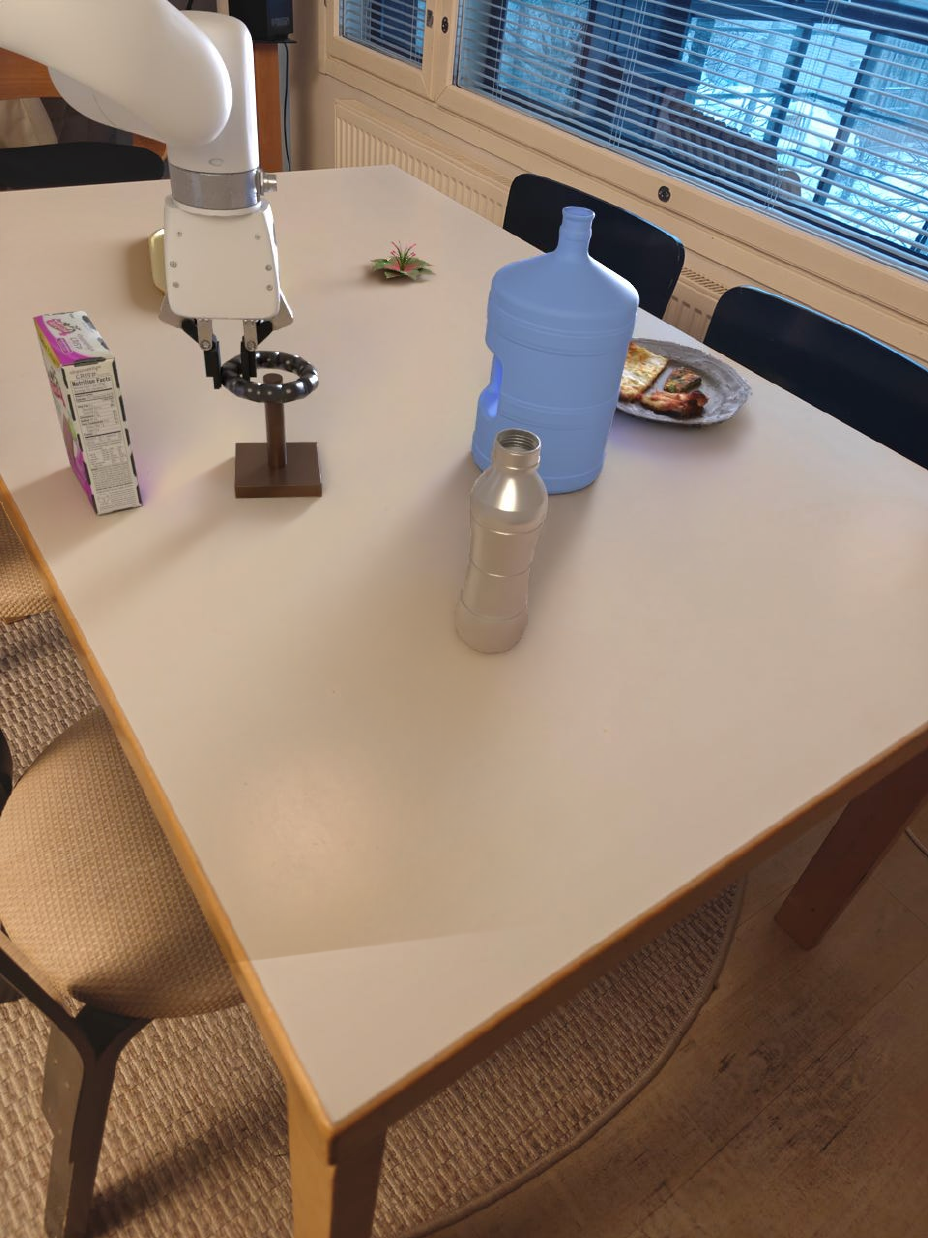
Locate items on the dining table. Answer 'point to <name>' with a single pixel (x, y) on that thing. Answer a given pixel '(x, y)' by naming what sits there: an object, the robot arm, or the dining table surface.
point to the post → (276, 460)
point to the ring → (271, 391)
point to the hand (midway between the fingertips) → (232, 381)
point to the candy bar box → (89, 410)
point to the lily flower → (402, 265)
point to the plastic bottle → (502, 543)
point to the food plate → (678, 385)
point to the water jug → (557, 356)
